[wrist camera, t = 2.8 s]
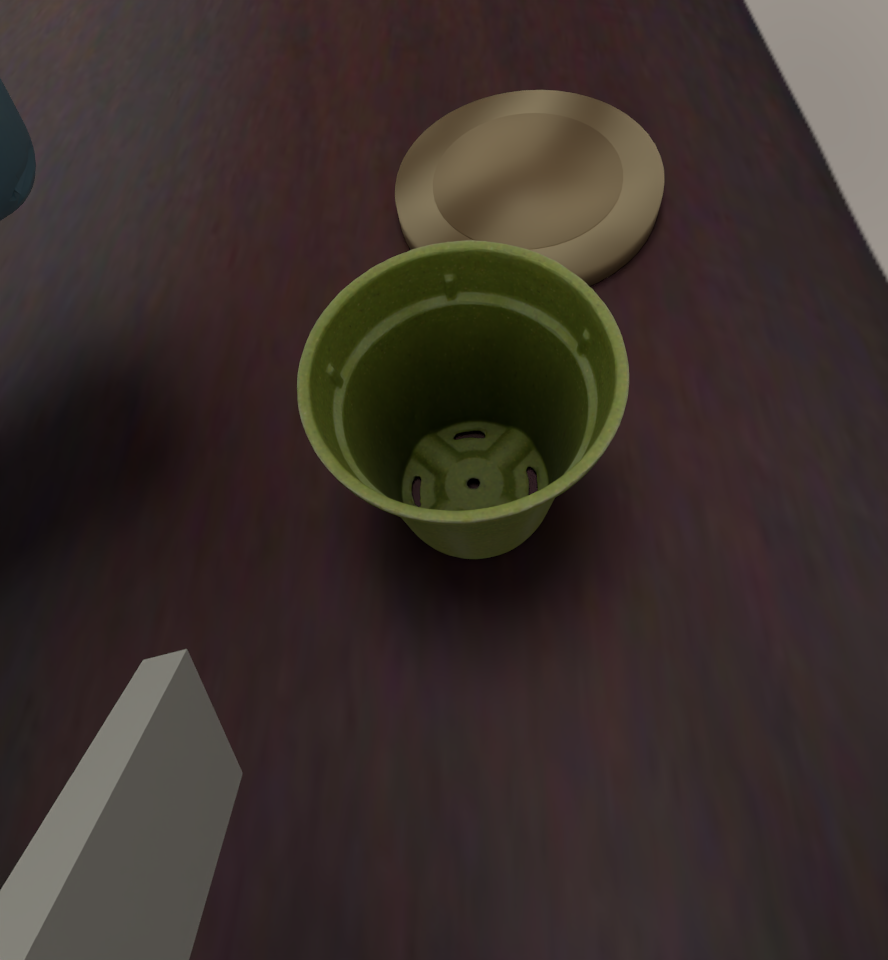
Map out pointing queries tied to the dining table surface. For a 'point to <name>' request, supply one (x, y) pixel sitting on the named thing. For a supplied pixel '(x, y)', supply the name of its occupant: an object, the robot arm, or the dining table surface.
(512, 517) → the plant pot
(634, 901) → the dining table surface
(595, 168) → the plate
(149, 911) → the robot arm
